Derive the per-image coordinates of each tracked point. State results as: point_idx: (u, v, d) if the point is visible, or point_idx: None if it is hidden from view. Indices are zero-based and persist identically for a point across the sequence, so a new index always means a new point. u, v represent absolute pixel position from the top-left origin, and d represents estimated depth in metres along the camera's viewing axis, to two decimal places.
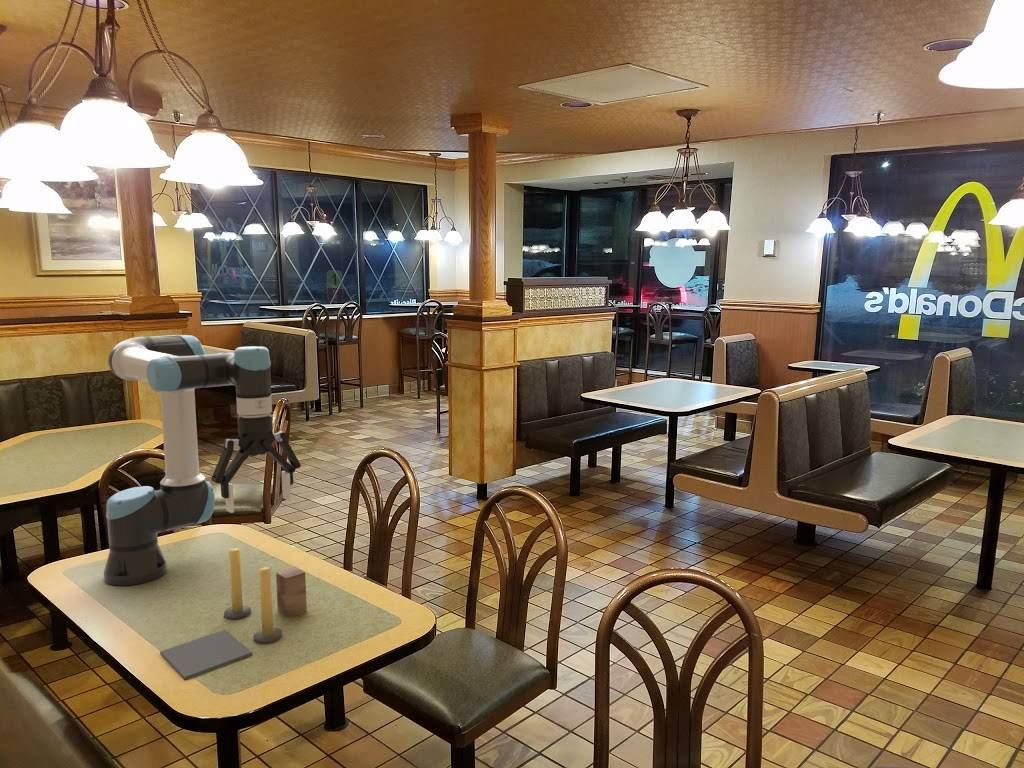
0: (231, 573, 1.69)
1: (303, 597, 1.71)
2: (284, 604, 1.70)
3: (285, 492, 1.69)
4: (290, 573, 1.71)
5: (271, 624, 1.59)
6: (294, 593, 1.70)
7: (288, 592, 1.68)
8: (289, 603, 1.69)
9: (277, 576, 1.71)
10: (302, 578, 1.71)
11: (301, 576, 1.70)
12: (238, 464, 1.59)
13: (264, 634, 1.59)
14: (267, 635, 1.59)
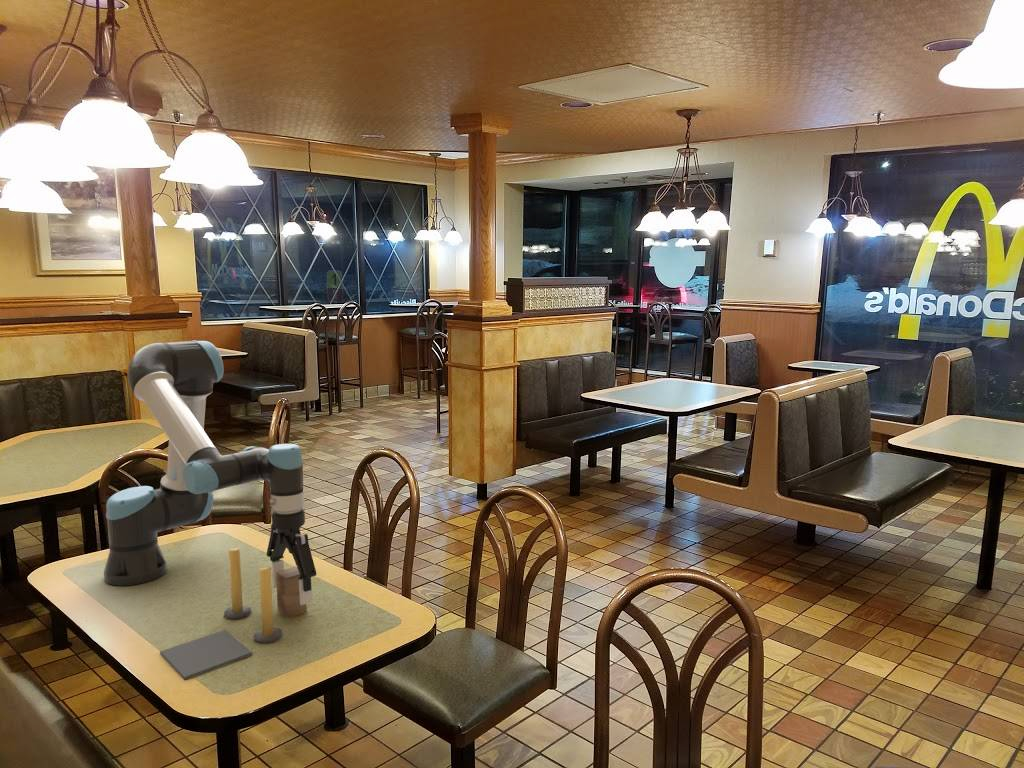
0: (231, 573, 1.69)
1: None
2: (284, 604, 1.70)
3: None
4: (290, 573, 1.71)
5: (271, 624, 1.59)
6: (294, 593, 1.70)
7: (288, 592, 1.68)
8: (289, 603, 1.69)
9: (277, 576, 1.71)
10: None
11: None
12: (275, 548, 1.73)
13: (264, 634, 1.59)
14: (267, 635, 1.59)
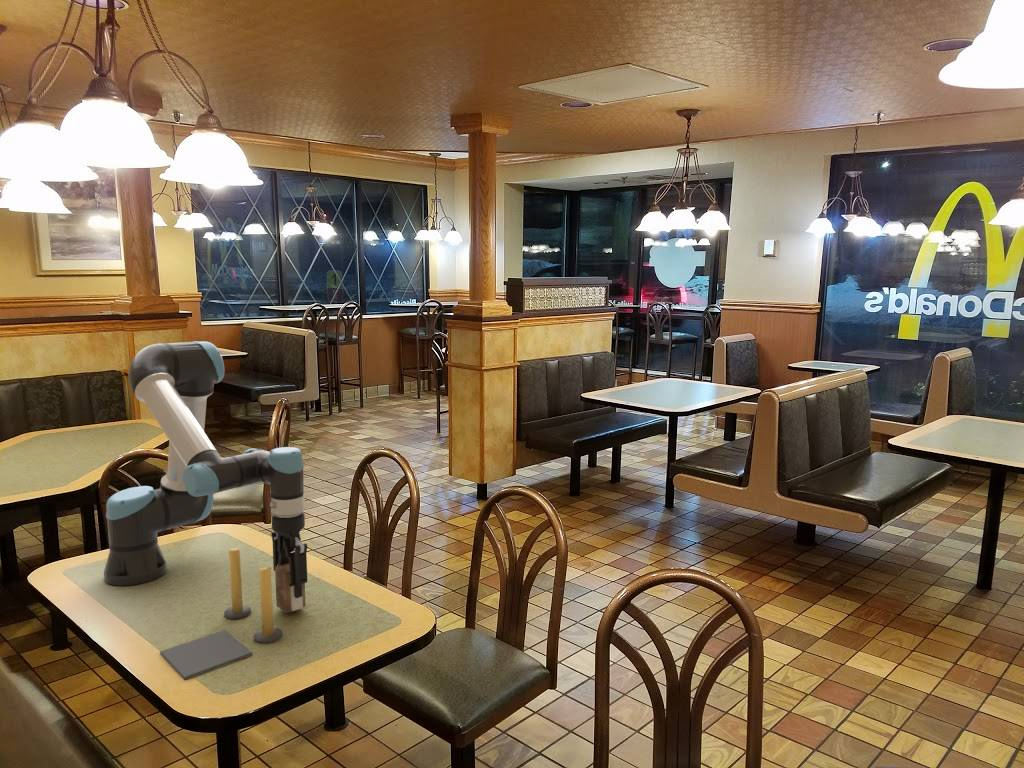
0: (231, 573, 1.69)
1: (302, 592, 1.71)
2: (282, 599, 1.70)
3: None
4: (289, 568, 1.71)
5: (271, 624, 1.59)
6: None
7: (287, 587, 1.68)
8: (288, 598, 1.69)
9: (276, 571, 1.71)
10: None
11: None
12: (279, 557, 1.72)
13: (264, 634, 1.59)
14: (267, 635, 1.59)
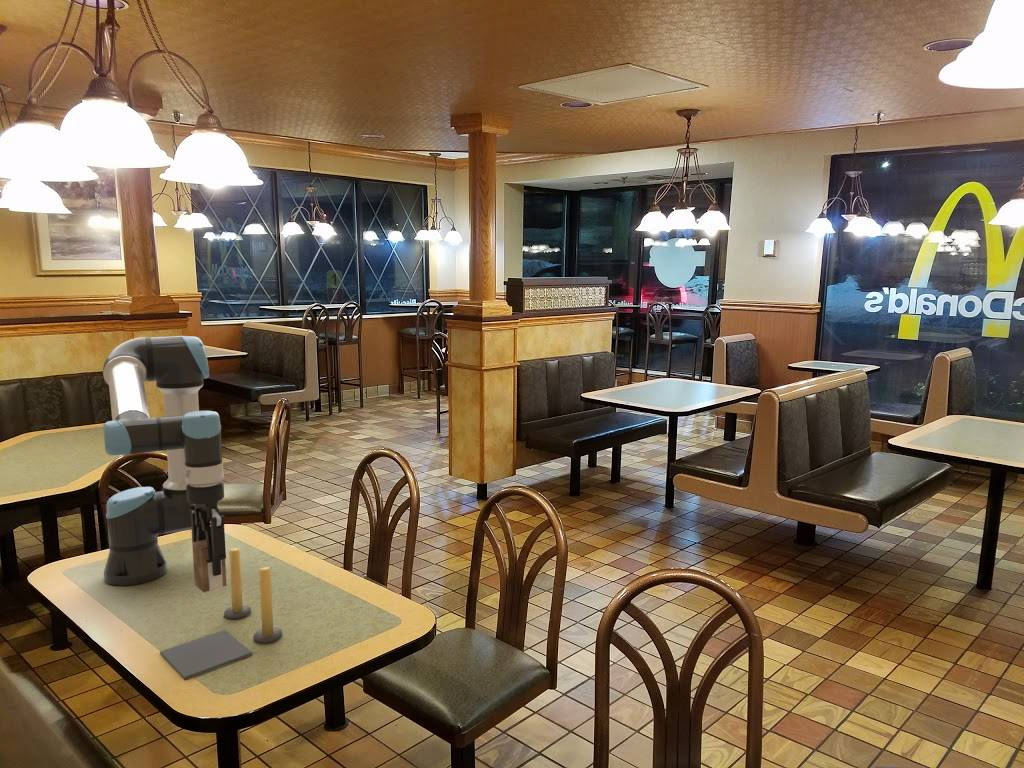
0: (231, 573, 1.69)
1: (222, 569, 1.57)
2: (200, 577, 1.55)
3: None
4: None
5: (271, 624, 1.59)
6: None
7: (204, 564, 1.54)
8: (205, 576, 1.54)
9: (193, 547, 1.56)
10: None
11: None
12: (197, 532, 1.57)
13: (264, 634, 1.59)
14: (267, 635, 1.59)
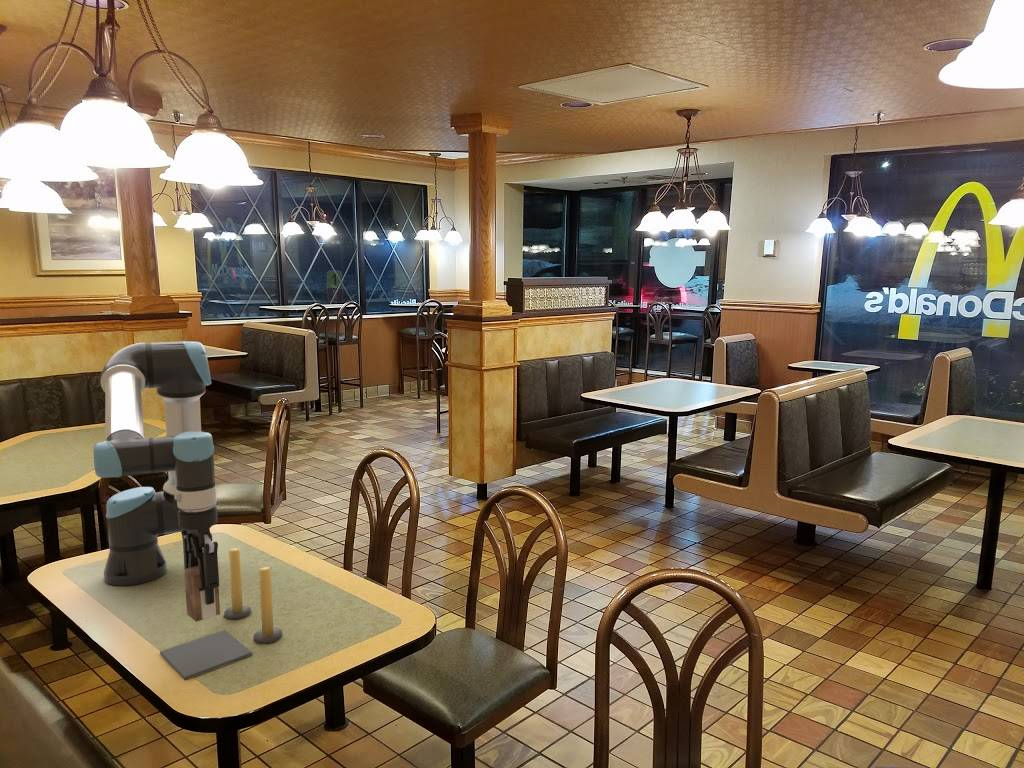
0: (231, 573, 1.69)
1: (215, 597, 1.50)
2: (192, 606, 1.48)
3: None
4: None
5: (271, 624, 1.59)
6: None
7: (196, 592, 1.47)
8: (198, 605, 1.47)
9: (185, 574, 1.49)
10: None
11: None
12: (189, 558, 1.50)
13: (264, 634, 1.59)
14: (267, 635, 1.59)
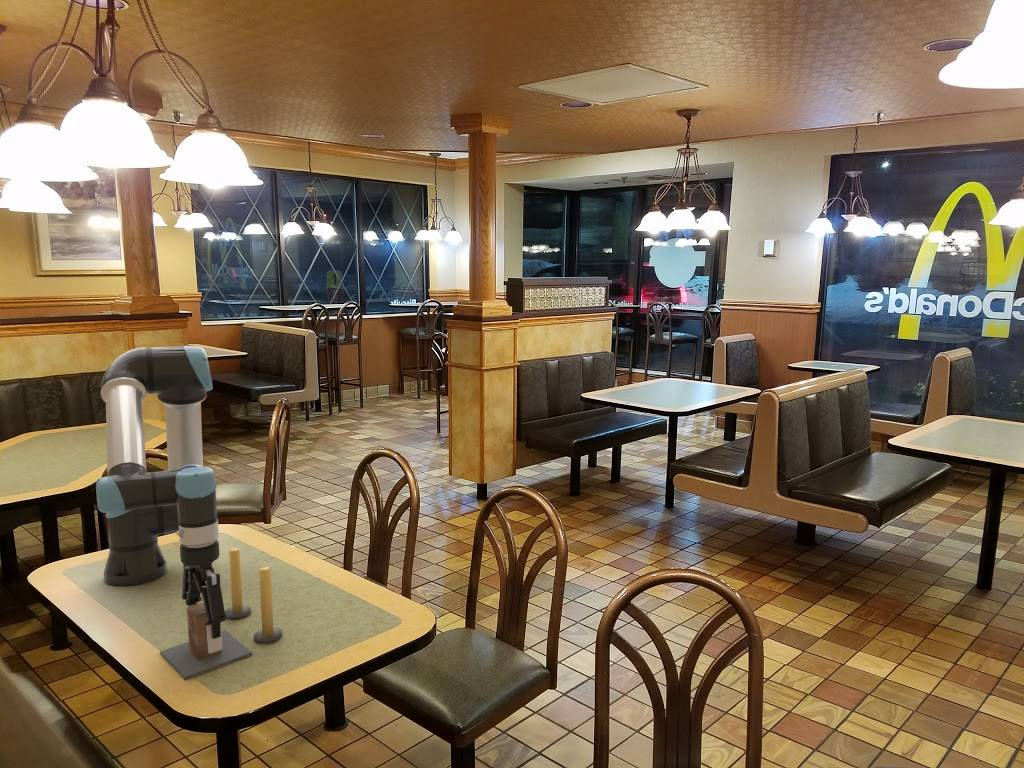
0: (231, 573, 1.69)
1: None
2: (195, 644, 1.49)
3: None
4: (202, 608, 1.50)
5: (271, 624, 1.59)
6: None
7: (199, 631, 1.48)
8: (200, 644, 1.49)
9: (188, 612, 1.50)
10: None
11: None
12: (189, 588, 1.52)
13: (264, 634, 1.59)
14: (267, 635, 1.59)
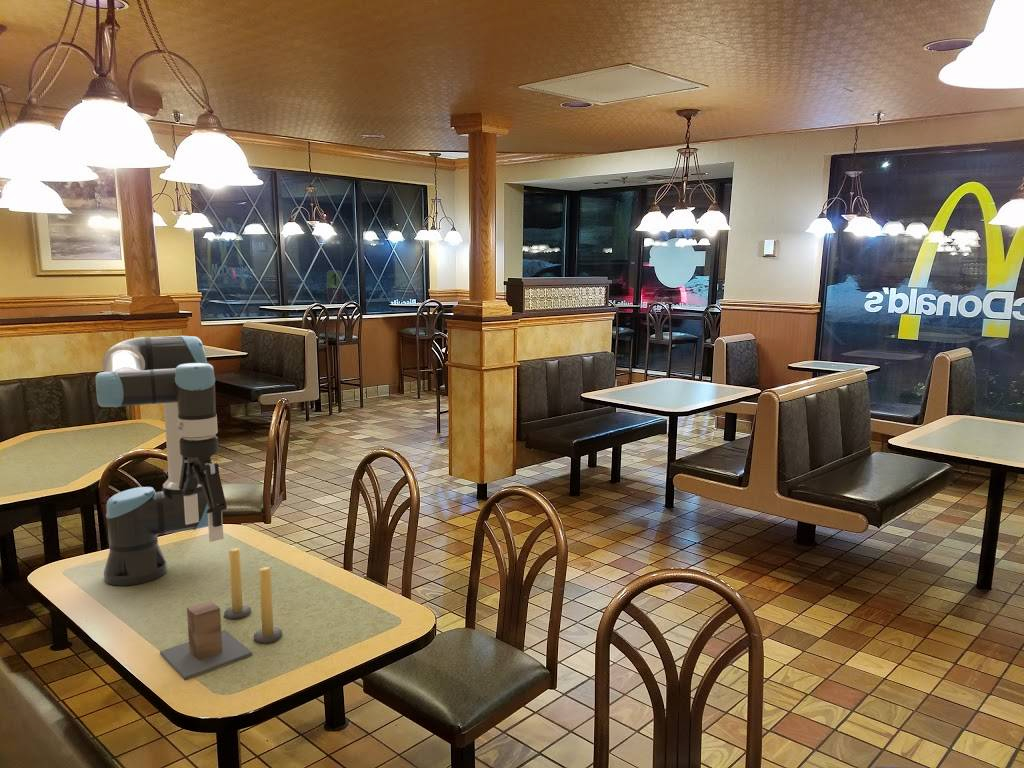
0: (231, 573, 1.69)
1: (217, 635, 1.51)
2: (195, 644, 1.49)
3: None
4: (202, 608, 1.50)
5: (271, 624, 1.59)
6: (207, 631, 1.49)
7: (199, 631, 1.48)
8: (200, 644, 1.49)
9: (188, 612, 1.50)
10: (216, 614, 1.50)
11: (214, 613, 1.50)
12: (187, 480, 1.56)
13: (264, 634, 1.59)
14: (267, 635, 1.59)
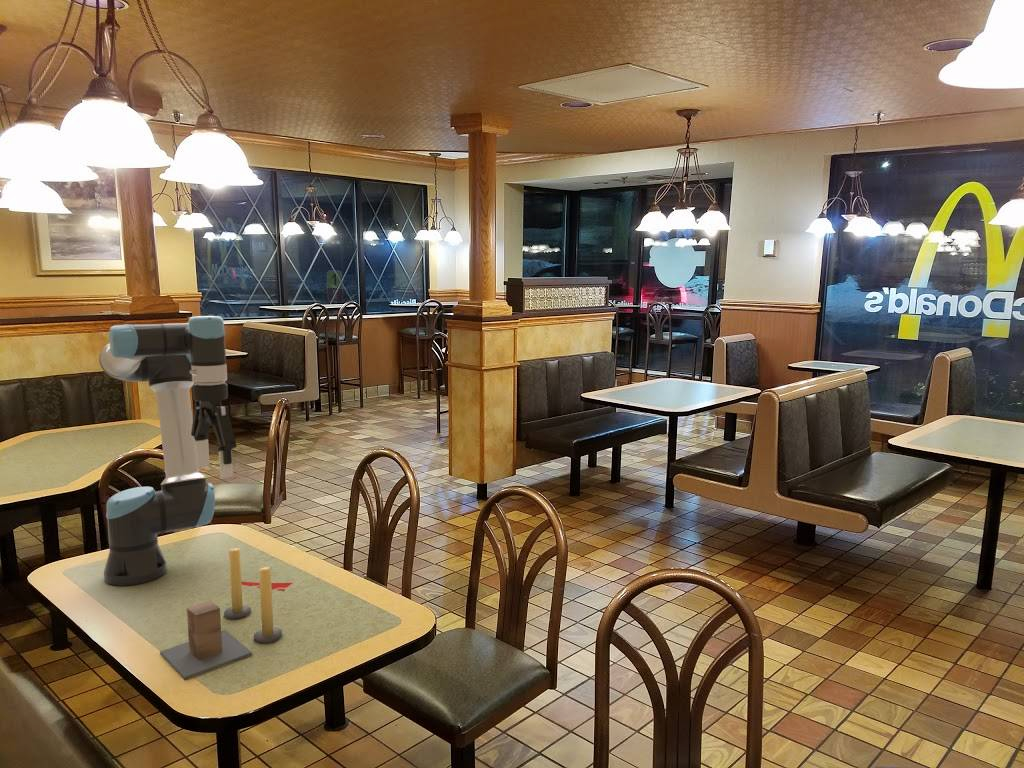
0: (231, 573, 1.69)
1: (217, 635, 1.51)
2: (195, 644, 1.49)
3: None
4: (202, 608, 1.50)
5: (271, 624, 1.59)
6: (207, 631, 1.49)
7: (199, 631, 1.48)
8: (200, 644, 1.49)
9: (188, 612, 1.50)
10: (216, 614, 1.50)
11: (214, 613, 1.50)
12: (198, 425, 1.69)
13: (264, 634, 1.59)
14: (267, 635, 1.59)
